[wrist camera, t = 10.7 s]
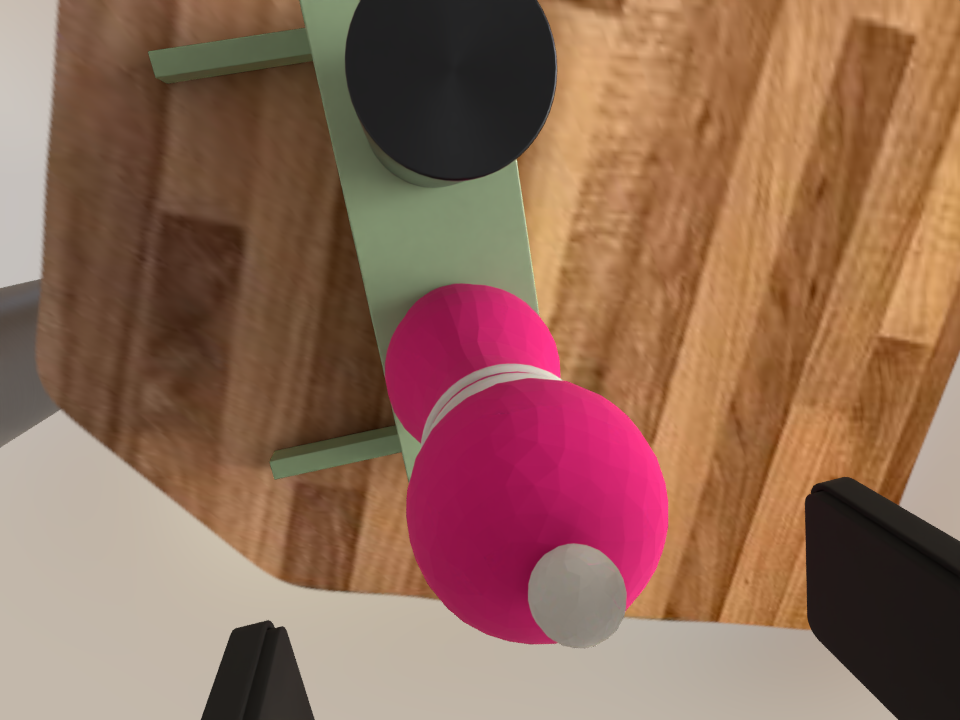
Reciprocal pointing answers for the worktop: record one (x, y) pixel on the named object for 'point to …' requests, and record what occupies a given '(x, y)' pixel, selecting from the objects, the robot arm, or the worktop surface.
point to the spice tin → (450, 84)
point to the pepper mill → (520, 474)
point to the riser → (380, 211)
